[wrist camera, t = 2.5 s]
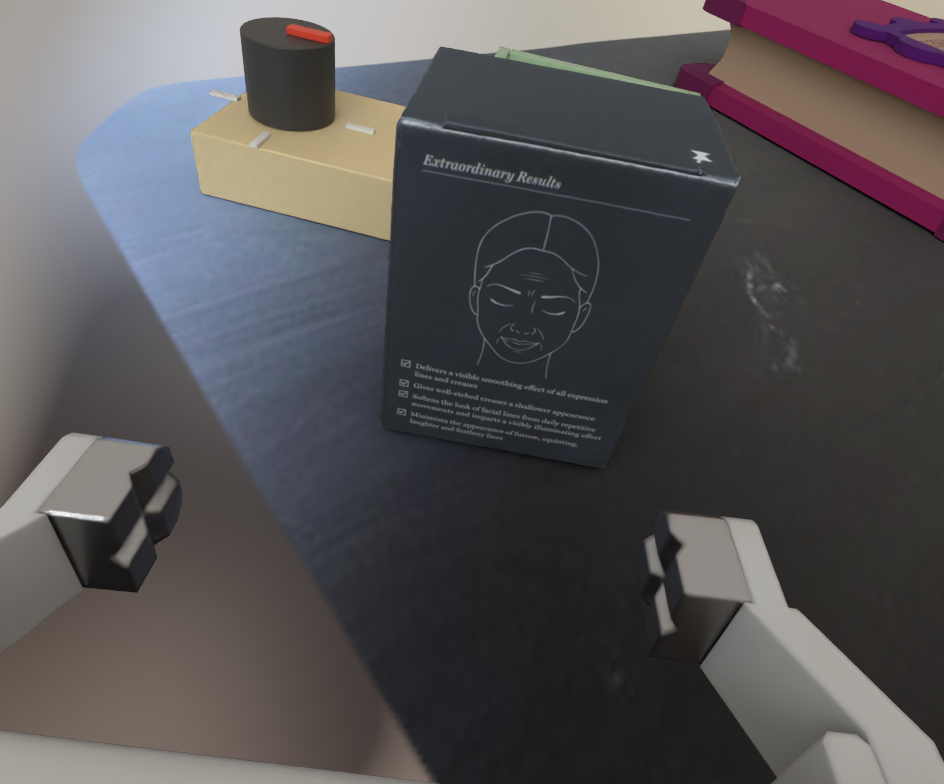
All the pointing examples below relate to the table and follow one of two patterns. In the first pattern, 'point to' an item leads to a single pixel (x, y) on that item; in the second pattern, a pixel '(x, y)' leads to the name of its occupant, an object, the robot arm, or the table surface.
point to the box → (541, 251)
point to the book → (839, 92)
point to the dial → (289, 73)
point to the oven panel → (304, 163)
